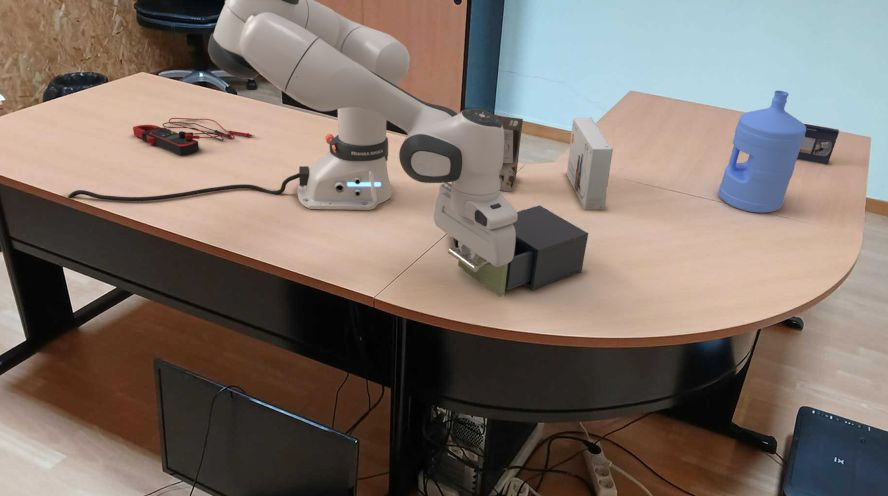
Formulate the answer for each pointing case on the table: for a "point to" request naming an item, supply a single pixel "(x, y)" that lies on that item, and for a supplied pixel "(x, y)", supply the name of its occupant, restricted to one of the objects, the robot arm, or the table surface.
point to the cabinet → (550, 245)
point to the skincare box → (589, 163)
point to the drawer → (499, 269)
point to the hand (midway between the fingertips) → (469, 264)
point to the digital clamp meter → (178, 137)
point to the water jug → (763, 158)
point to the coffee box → (510, 151)
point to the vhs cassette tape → (818, 144)
